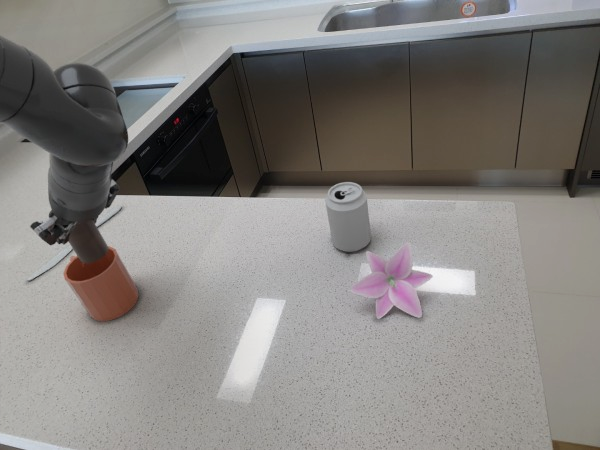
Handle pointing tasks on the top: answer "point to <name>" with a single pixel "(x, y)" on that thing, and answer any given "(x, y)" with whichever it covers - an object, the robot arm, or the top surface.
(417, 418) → the top surface
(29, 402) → the top surface
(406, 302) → the lily
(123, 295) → the terracotta plant pot
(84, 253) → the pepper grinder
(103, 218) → the butter knife
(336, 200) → the can
